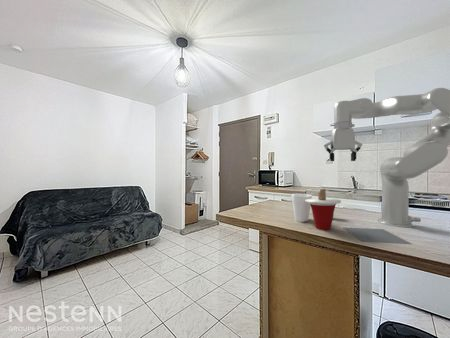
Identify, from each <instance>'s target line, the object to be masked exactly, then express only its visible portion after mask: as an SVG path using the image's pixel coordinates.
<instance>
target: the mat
mask: <svg viewBox="0 0 450 338" xmlns="http://www.w3.org/2000/svg"><path fill="white" fill-rule="evenodd" d="M342 228H343V229H344V230H346V231H347V232H349V234H351V235H352V236H354V237H355V238H356V239H358V241H361V242H367V243H369V242H370V243H381V244H382V243H383V244H384V243H385V244H386V243H387V244H400V245H402V244H403V245H412V243H411V242H410V241H408V240H405V239H403V238H401V237H399V236H398V235H395V234H394V233H392V232H389V231H388V230H386V229H384V228H366V227H365V228H364V227H362V228H361V227H347V226H346V227H343V226H342Z"/></svg>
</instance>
